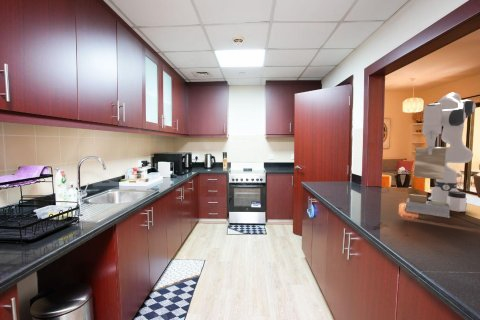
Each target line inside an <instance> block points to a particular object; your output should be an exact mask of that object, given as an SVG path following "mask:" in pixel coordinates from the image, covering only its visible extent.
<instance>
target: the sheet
mask: <svg viewBox="0 0 480 320" xmlns="http://www.w3.org/2000/svg"><path fill="white" fill-rule="evenodd" d="M414 153H415V155H414V157H415V158H414V172H413V178H419V179H431V180H432V179H435V180H436V179H443V180H444V169H445V156H446V148H434V147H433V150H432V155H429V154H428V147H415V152H414Z"/></svg>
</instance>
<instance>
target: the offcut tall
mask: <svg viewBox="0 0 480 320" xmlns="http://www.w3.org/2000/svg"><path fill="white" fill-rule="evenodd" d="M427 198H428V197H427V195H420V194H412V193H411V194H410V193H409V199H410V202H418V203H426V201H427Z"/></svg>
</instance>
